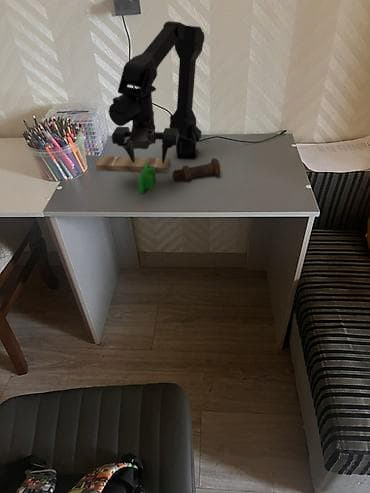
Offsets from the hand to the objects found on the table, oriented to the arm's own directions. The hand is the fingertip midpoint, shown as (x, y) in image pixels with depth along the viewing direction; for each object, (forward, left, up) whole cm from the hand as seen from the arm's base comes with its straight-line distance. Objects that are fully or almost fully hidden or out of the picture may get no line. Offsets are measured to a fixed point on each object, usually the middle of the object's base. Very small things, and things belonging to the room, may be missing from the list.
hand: (148, 162), depth 114 cm
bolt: (-14, -5, -8) cm, 17 cm away
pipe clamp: (+1, 0, -8) cm, 8 cm away
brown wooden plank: (+8, -10, -8) cm, 15 cm away
